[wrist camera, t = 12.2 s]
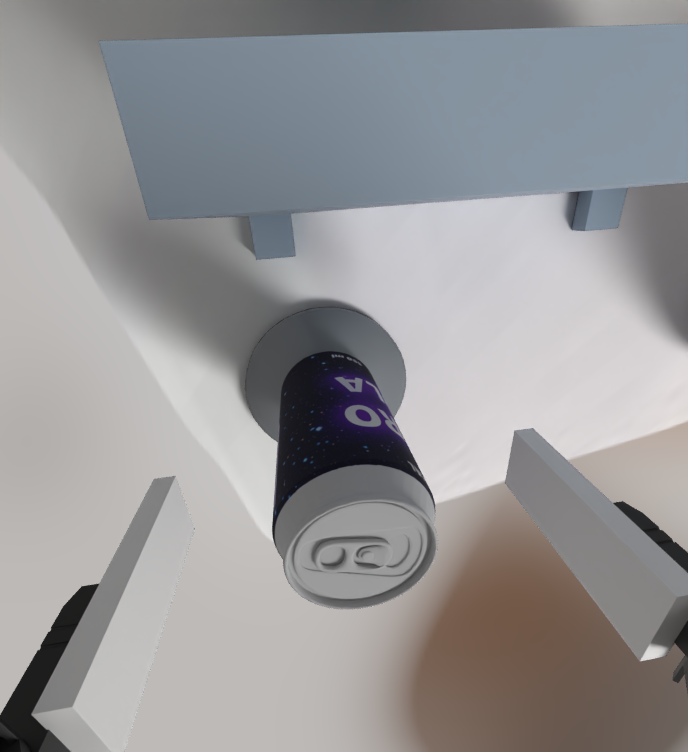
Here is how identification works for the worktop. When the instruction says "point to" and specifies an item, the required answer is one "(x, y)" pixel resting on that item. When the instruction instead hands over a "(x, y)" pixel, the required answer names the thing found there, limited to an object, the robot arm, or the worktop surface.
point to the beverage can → (347, 489)
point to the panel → (400, 120)
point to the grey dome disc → (313, 336)
